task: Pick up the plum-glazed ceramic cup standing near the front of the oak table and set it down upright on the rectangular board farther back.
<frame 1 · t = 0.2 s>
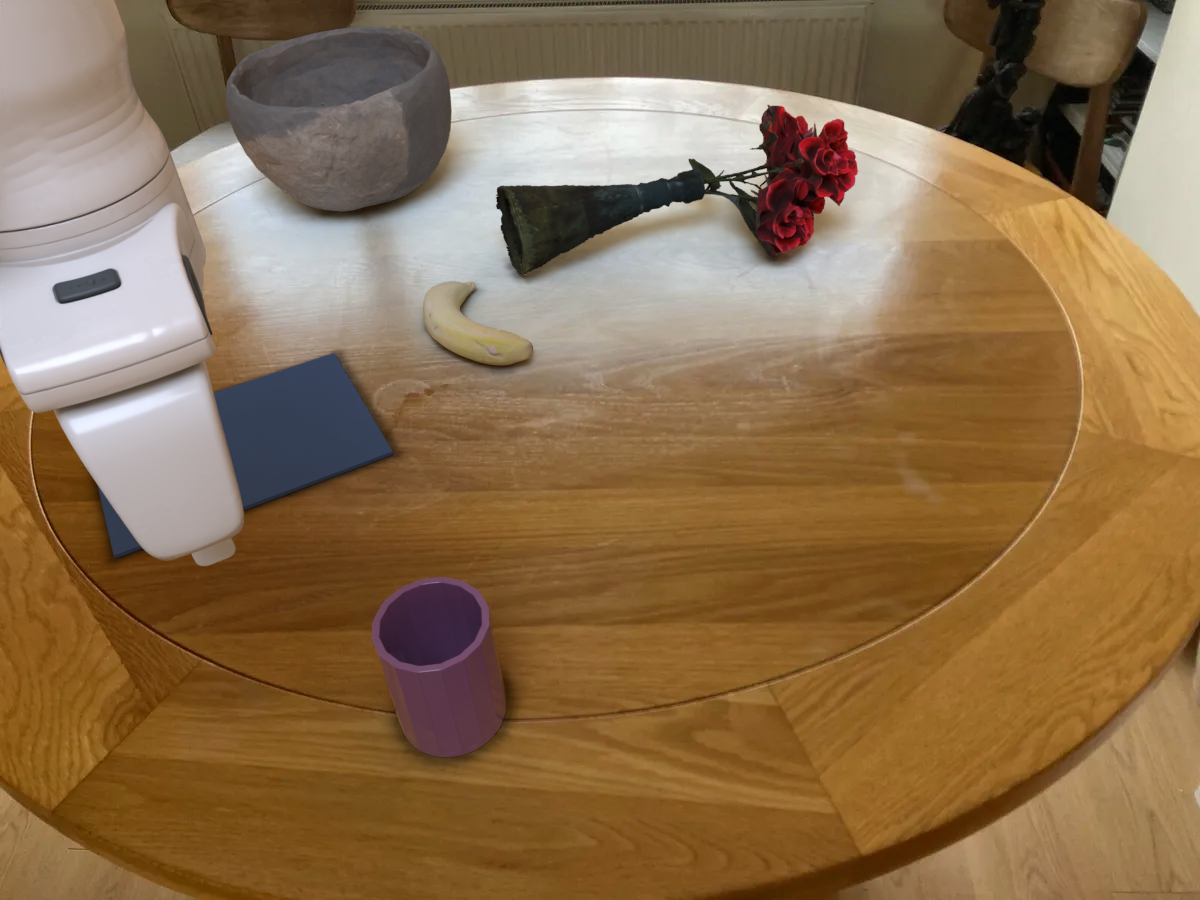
hand: (194, 490, 47), 20 cm above the table, tool pointing down, fingers open, 8 cm apart
rectangular board: (237, 446, 81), on the table
vase with red roses: (676, 250, 101), on the table
fruit: (479, 335, 91), on the table
cup: (453, 709, 61), on the table
bowl: (362, 190, 115), on the table
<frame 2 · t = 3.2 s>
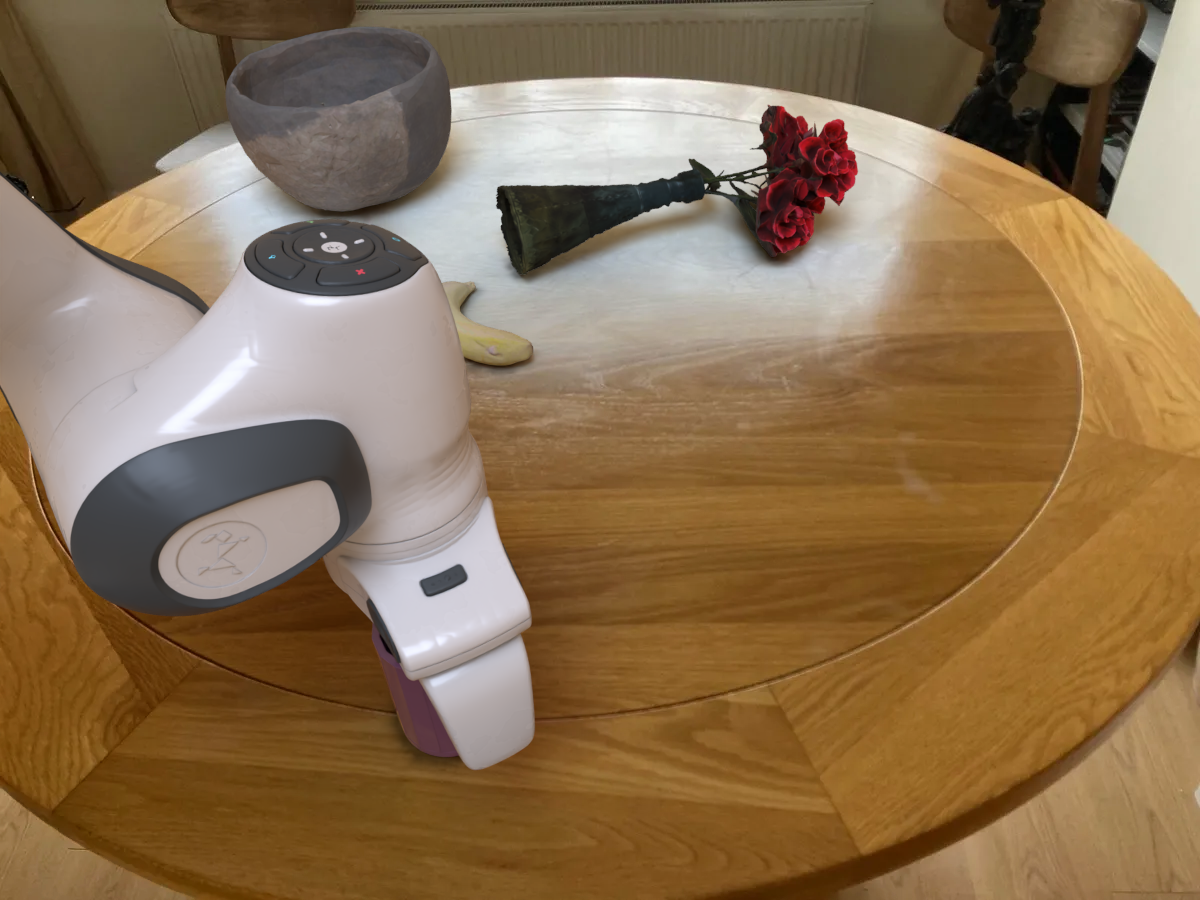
hand: (445, 676, 58), 4 cm above the table, tool pointing down, fingers closed on cup, 7 cm apart
cup: (453, 709, 61), on the table, touching gripper
everything else where it was.
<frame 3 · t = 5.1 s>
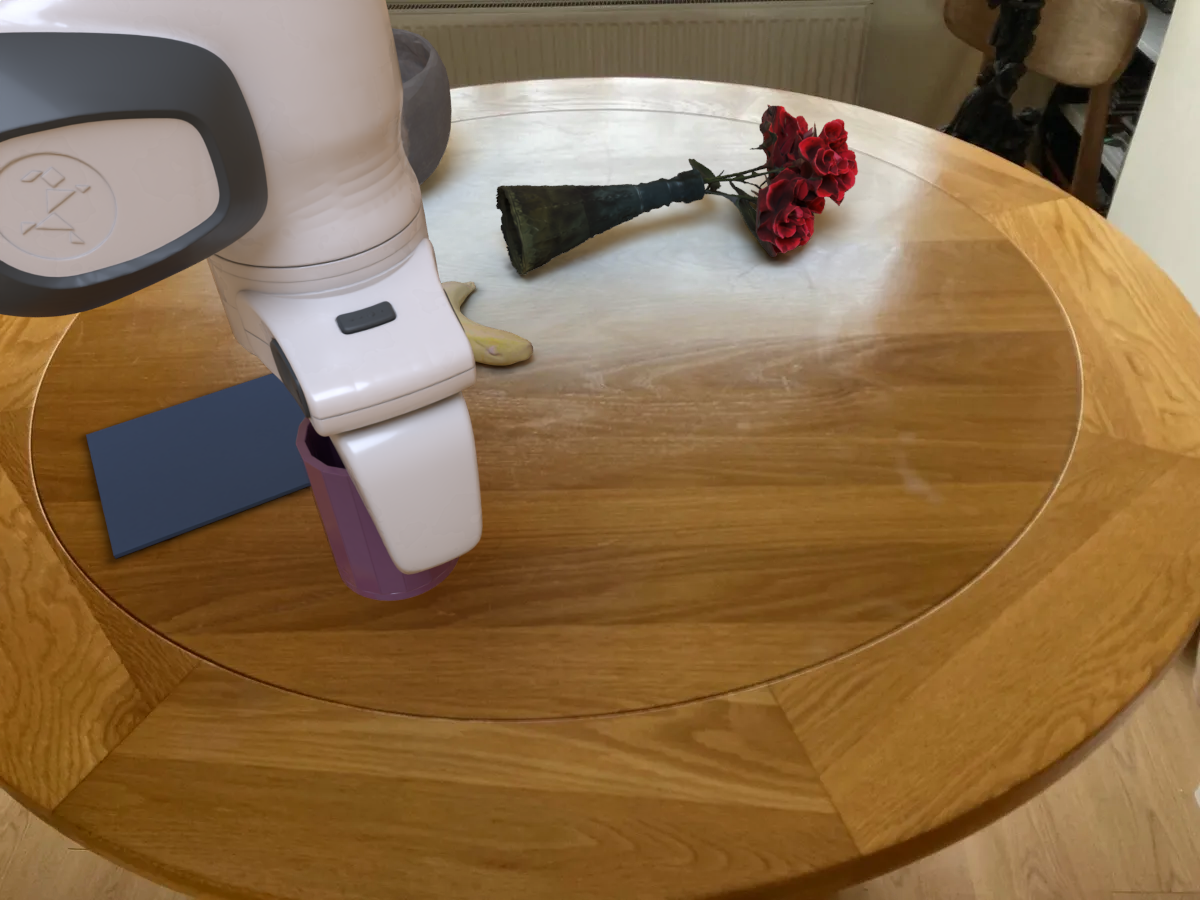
hand: (387, 505, 50), 18 cm above the table, tool pointing down, fingers closed on cup, 7 cm apart
cup: (399, 553, 52), point 14 cm above the table, touching gripper
everything else where it was.
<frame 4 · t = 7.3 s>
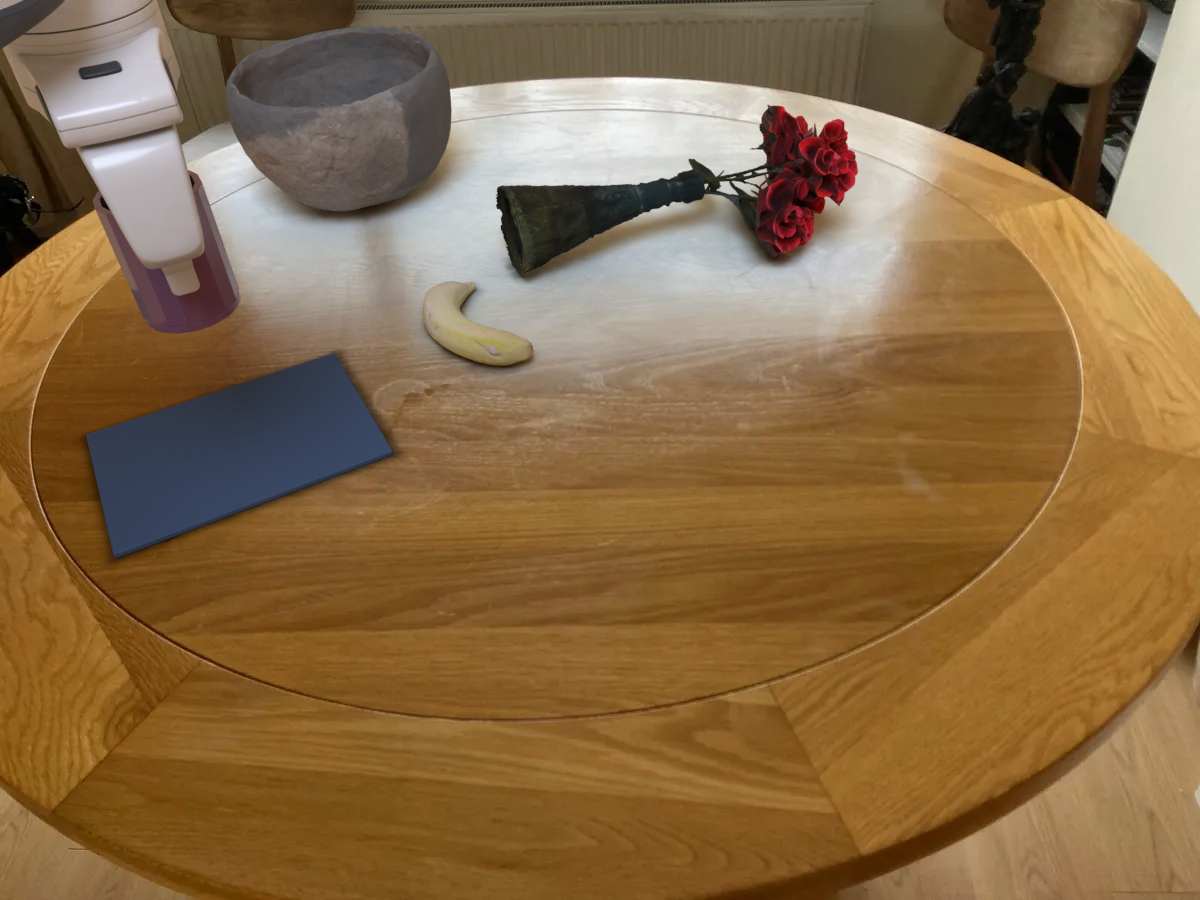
hand: (174, 261, 66), 19 cm above the table, tool pointing down, fingers closed on cup, 7 cm apart
cup: (193, 306, 69), point 15 cm above the table, touching gripper
everything else where it was.
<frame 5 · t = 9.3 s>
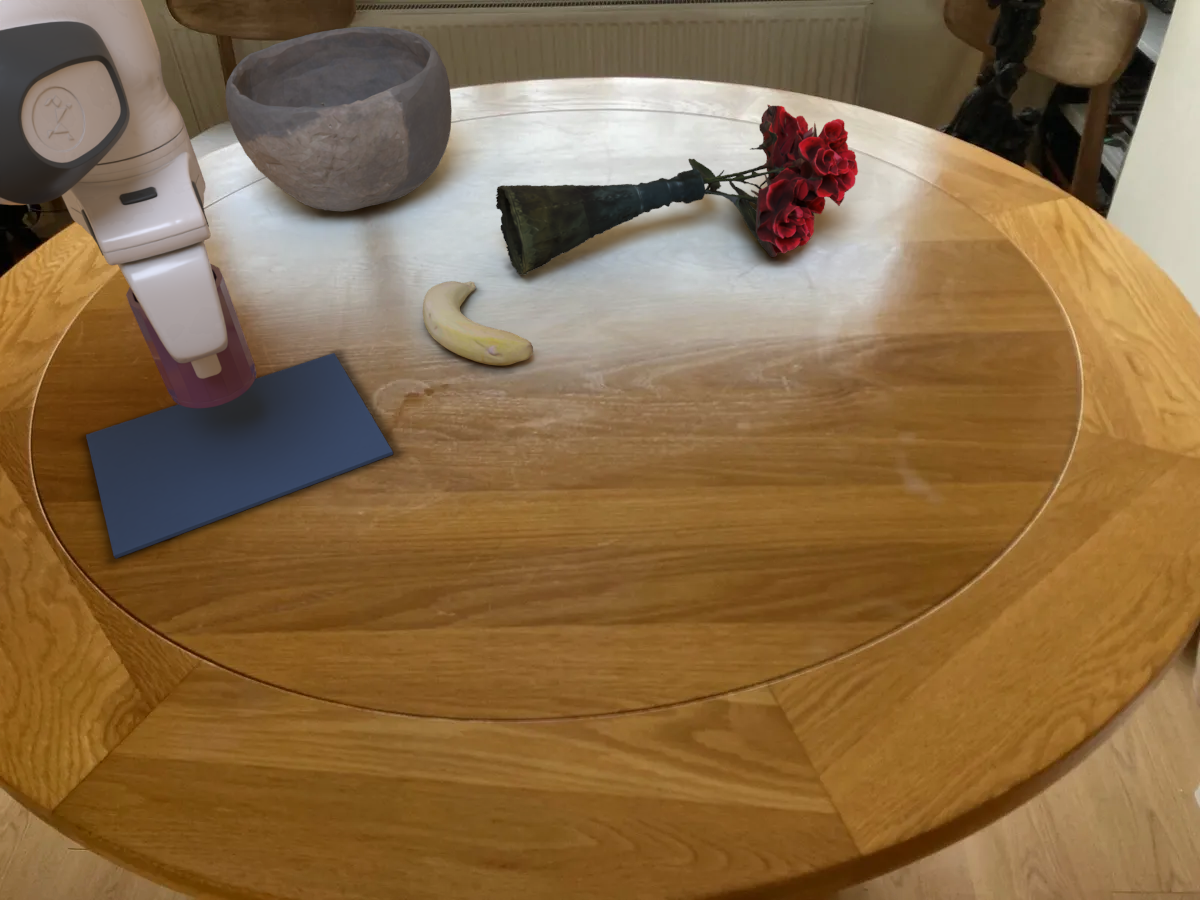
hand: (197, 344, 74), 11 cm above the table, tool pointing down, fingers closed on cup, 7 cm apart
cup: (213, 381, 76), point 7 cm above the table, touching gripper
everything else where it was.
when the fingers open (4 cm above the table, at t = 11.4 s): cup stays where it is, resting on rectangular board.
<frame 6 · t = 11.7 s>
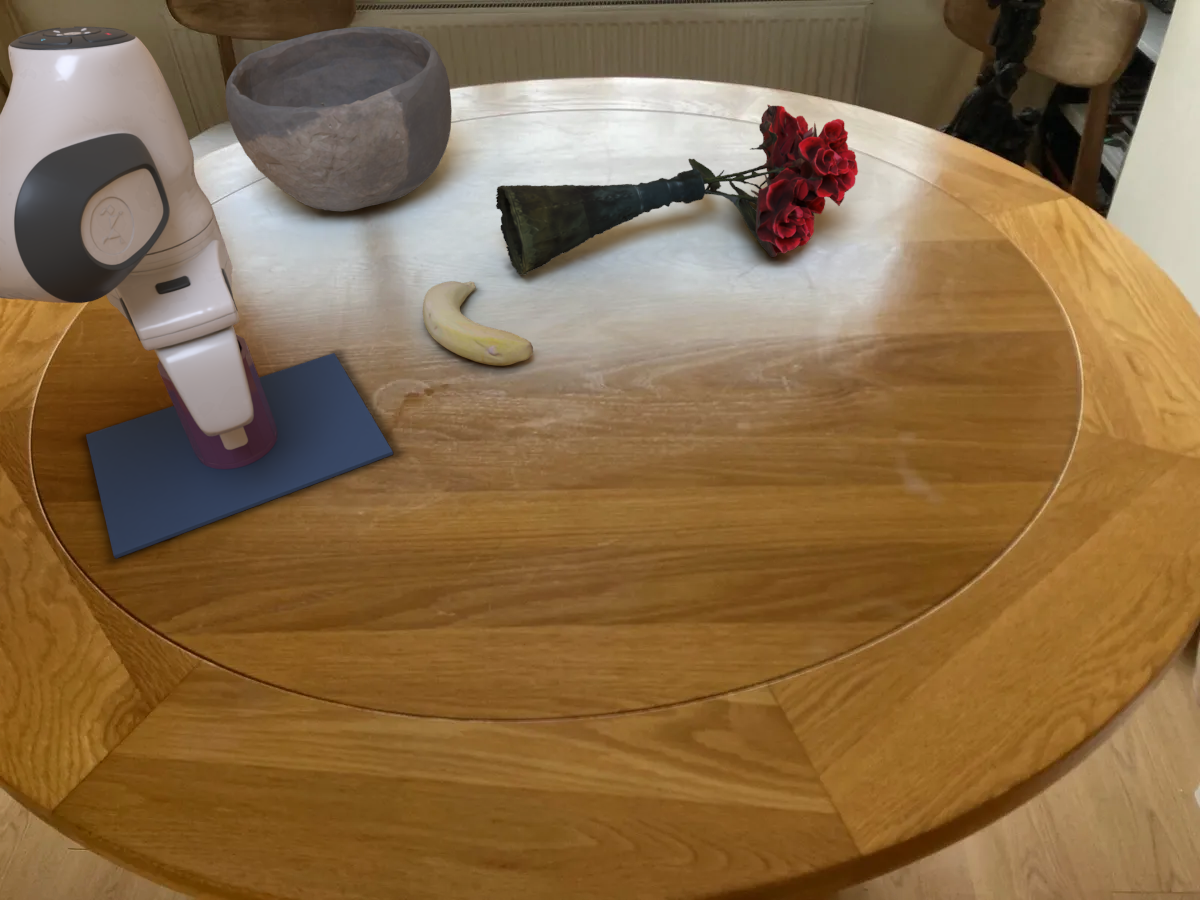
hand: (222, 409, 78), 4 cm above the table, tool pointing down, fingers open, 8 cm apart
cup: (237, 442, 80), resting on rectangular board
everything else where it was.
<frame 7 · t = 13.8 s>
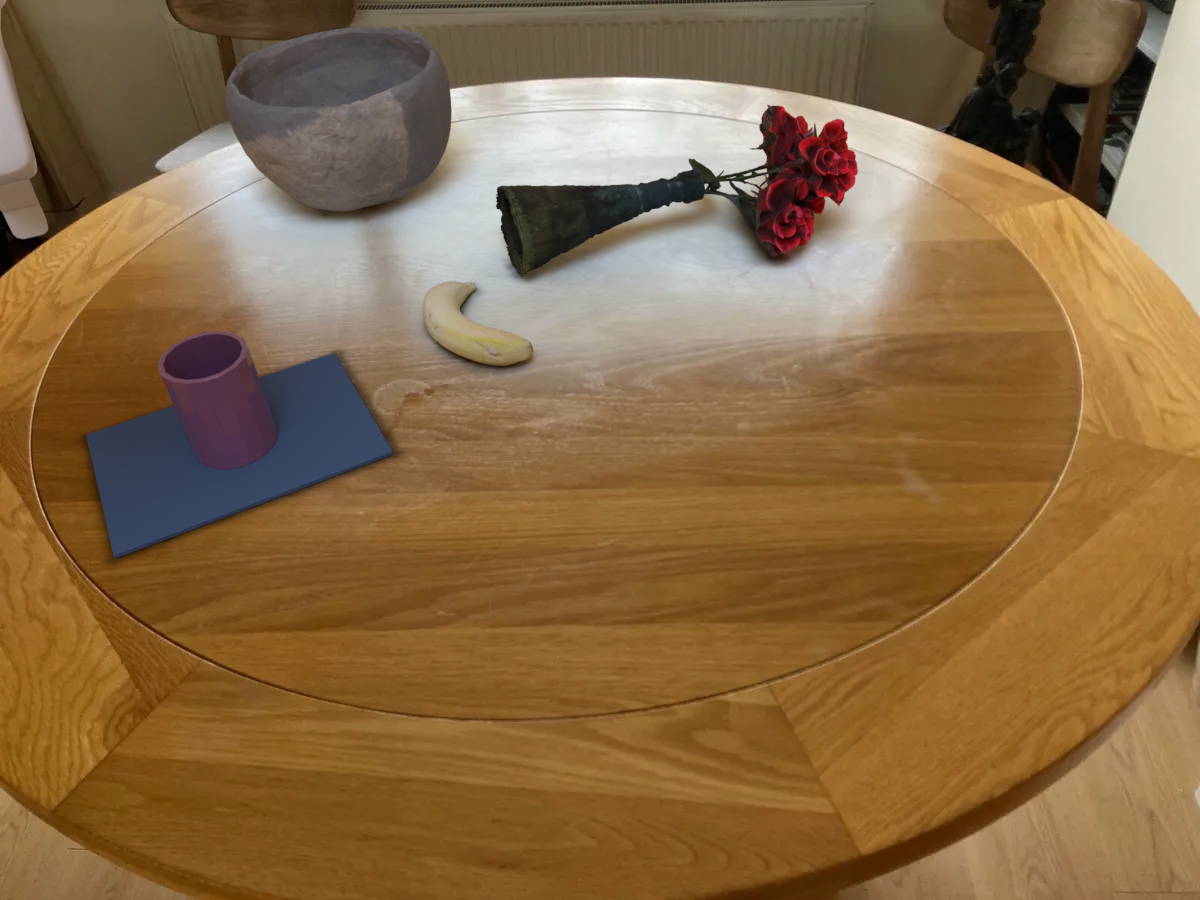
hand: (25, 198, 57), 27 cm above the table, tool pointing down, fingers open, 8 cm apart
nothing on the table moved.
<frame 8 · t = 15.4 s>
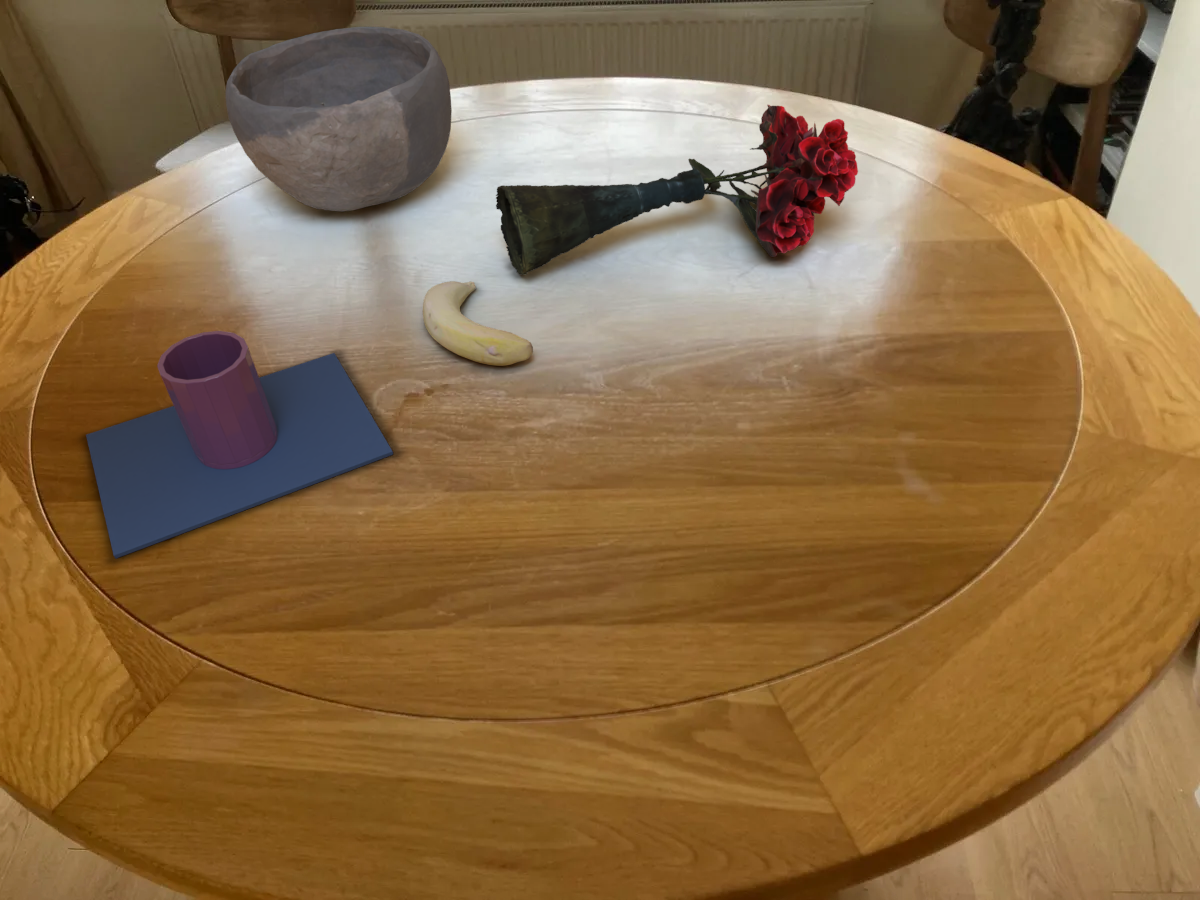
nothing on the table moved.
at the end: cup inside the target area on the rectangular board (0.1 cm from its centre), point 0.4 cm above the rectangular board's base; cup tilted 0°; the gripper is holding nothing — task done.
